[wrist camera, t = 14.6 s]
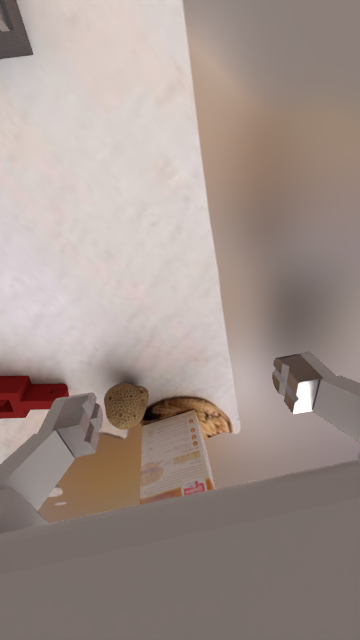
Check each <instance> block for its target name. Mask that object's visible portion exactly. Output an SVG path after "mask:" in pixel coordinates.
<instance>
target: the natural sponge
mask: <svg viewBox="0 0 360 640" xmlns="http://www.w3.org/2000/svg"><path fill="white" fill-rule="evenodd" d="M148 398H149V394H148V391H147V389H146V388H144V387H142V386H136V385H131V384H127V383H121V384H118V385H115V386H113V387H112V388H110V389H109V390H108V391H107V393H106V395H105V397H104V404H105V409H106V415H107V418H108V420H109V422H110V423H111V424H112V425H113V426H115V427H116V428H119V429H130V428H132V427H135V426H136V425H138V423H139V422H140V421H141V420H142V418H143V416H144V413H145V410H146V406H147V403H148Z"/></svg>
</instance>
